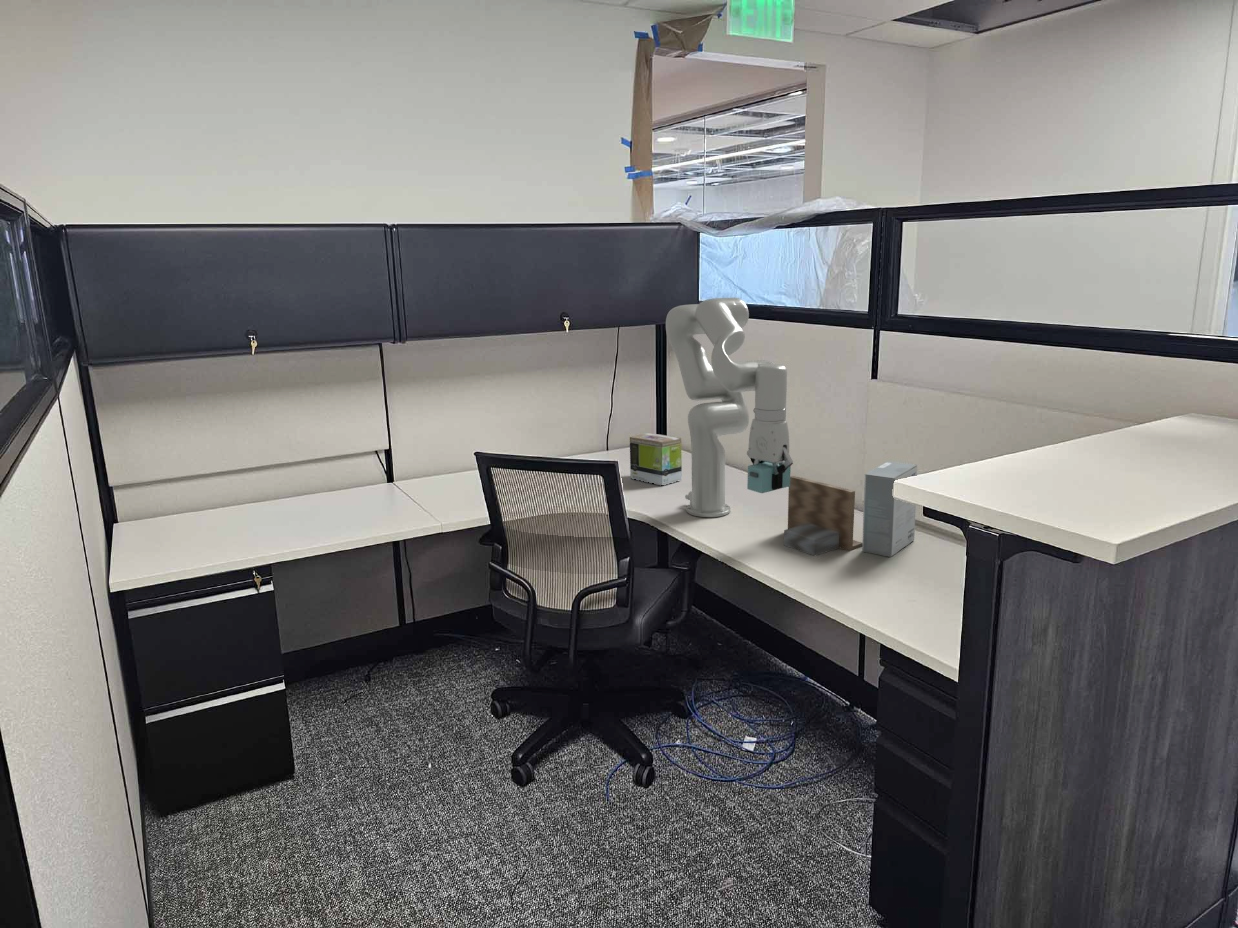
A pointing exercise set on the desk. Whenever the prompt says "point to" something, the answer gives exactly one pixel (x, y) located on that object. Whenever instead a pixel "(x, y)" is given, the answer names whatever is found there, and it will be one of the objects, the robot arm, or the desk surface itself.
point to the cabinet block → (764, 477)
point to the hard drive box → (887, 511)
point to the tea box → (655, 458)
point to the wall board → (819, 517)
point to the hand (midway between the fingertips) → (768, 485)
